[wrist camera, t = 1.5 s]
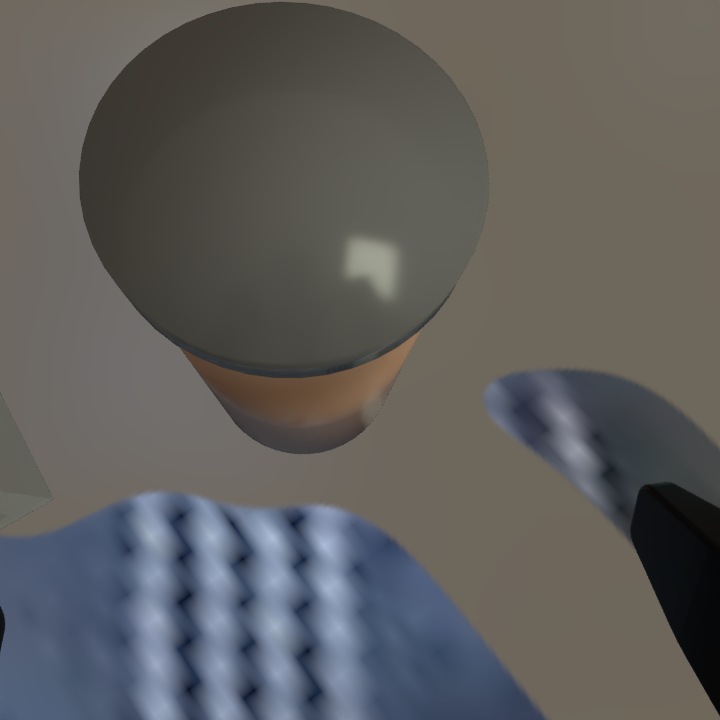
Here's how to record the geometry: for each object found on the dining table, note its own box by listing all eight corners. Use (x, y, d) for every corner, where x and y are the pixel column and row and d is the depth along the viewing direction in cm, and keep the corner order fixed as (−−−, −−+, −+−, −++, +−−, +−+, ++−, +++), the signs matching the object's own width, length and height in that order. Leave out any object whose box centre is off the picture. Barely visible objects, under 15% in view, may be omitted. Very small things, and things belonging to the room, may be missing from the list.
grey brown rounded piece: (346, 493, 21) (386, 437, 9) (174, 407, 21) (-7, 244, 9) (426, 328, 23) (546, 97, 11) (265, 251, 23) (210, -52, 11)
